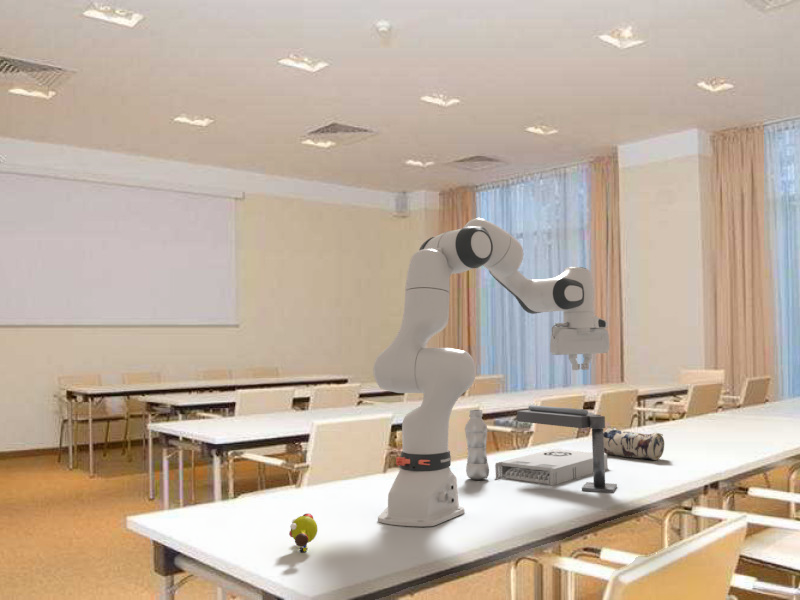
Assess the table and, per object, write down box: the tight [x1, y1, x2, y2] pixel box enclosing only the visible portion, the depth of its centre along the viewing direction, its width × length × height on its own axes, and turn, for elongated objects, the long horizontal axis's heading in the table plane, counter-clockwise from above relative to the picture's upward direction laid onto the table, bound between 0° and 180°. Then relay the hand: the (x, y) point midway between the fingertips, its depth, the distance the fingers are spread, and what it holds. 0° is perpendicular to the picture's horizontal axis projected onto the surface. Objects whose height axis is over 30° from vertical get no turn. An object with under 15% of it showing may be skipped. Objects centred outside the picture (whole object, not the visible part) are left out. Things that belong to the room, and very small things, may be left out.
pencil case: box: [603, 425, 665, 461], centre depth 250 cm, size 22×8×10 cm, turn 39°
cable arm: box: [516, 404, 606, 429], centre depth 211 cm, size 28×8×5 cm, turn 37°
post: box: [581, 428, 618, 494], centre depth 201 cm, size 8×8×16 cm
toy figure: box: [289, 513, 318, 553], centre depth 148 cm, size 18×6×7 cm, turn 3°
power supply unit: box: [494, 448, 609, 486], centre depth 225 cm, size 19×33×5 cm, turn 137°
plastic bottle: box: [464, 409, 490, 481], centre depth 217 cm, size 6×7×20 cm
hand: (580, 369), depth 218 cm, fingers closed
